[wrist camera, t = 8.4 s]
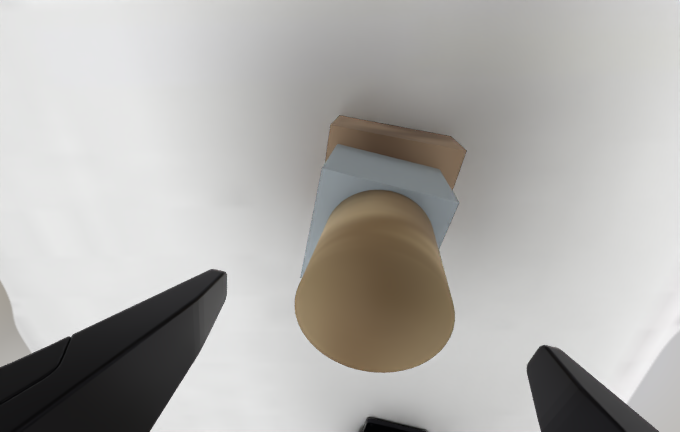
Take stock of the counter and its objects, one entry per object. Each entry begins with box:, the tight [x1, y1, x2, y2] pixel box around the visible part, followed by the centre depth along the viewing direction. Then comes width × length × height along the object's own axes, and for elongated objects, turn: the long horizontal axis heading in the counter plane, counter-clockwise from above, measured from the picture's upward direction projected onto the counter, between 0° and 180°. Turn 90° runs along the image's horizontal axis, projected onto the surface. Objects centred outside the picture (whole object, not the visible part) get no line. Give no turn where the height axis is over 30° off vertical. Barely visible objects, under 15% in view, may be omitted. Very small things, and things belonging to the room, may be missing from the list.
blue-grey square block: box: [300, 144, 459, 278], centre depth 15 cm, size 6×6×4 cm
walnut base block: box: [325, 115, 466, 190], centre depth 19 cm, size 7×7×4 cm
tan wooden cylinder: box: [295, 190, 455, 373], centre depth 11 cm, size 5×5×4 cm
